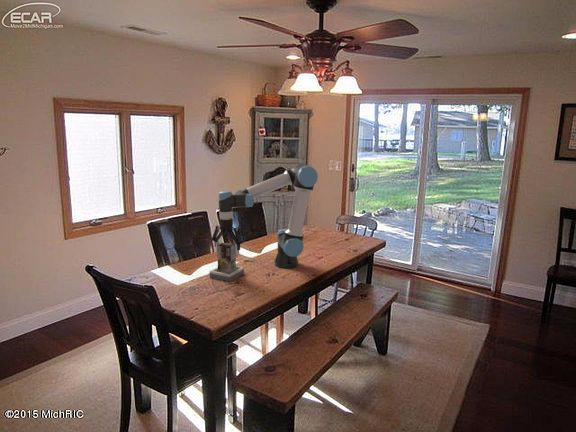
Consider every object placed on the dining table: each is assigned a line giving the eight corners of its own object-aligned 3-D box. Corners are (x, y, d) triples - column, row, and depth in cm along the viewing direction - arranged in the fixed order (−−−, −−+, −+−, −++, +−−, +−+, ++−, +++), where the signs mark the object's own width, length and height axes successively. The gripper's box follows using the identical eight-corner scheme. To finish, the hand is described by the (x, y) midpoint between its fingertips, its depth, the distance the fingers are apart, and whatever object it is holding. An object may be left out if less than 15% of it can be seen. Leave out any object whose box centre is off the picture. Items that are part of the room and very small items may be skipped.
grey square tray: (244, 273, 247) (244, 267, 246) (230, 281, 233) (229, 275, 233) (224, 269, 252) (224, 263, 252) (209, 277, 239) (209, 271, 238)
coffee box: (236, 270, 244) (236, 243, 241) (231, 273, 238) (230, 246, 235) (222, 268, 247) (222, 242, 244) (217, 271, 241) (216, 245, 238)
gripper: (248, 218, 234) (249, 254, 238) (212, 215, 245) (213, 249, 249) (241, 221, 227) (242, 258, 232) (204, 217, 238) (206, 253, 242)
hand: (227, 254), depth 240 cm, fingers open, 13 cm apart
